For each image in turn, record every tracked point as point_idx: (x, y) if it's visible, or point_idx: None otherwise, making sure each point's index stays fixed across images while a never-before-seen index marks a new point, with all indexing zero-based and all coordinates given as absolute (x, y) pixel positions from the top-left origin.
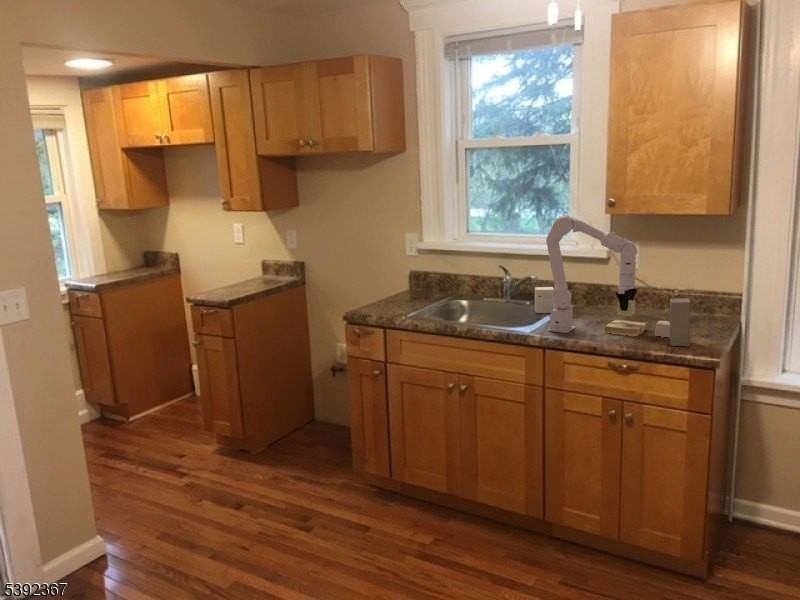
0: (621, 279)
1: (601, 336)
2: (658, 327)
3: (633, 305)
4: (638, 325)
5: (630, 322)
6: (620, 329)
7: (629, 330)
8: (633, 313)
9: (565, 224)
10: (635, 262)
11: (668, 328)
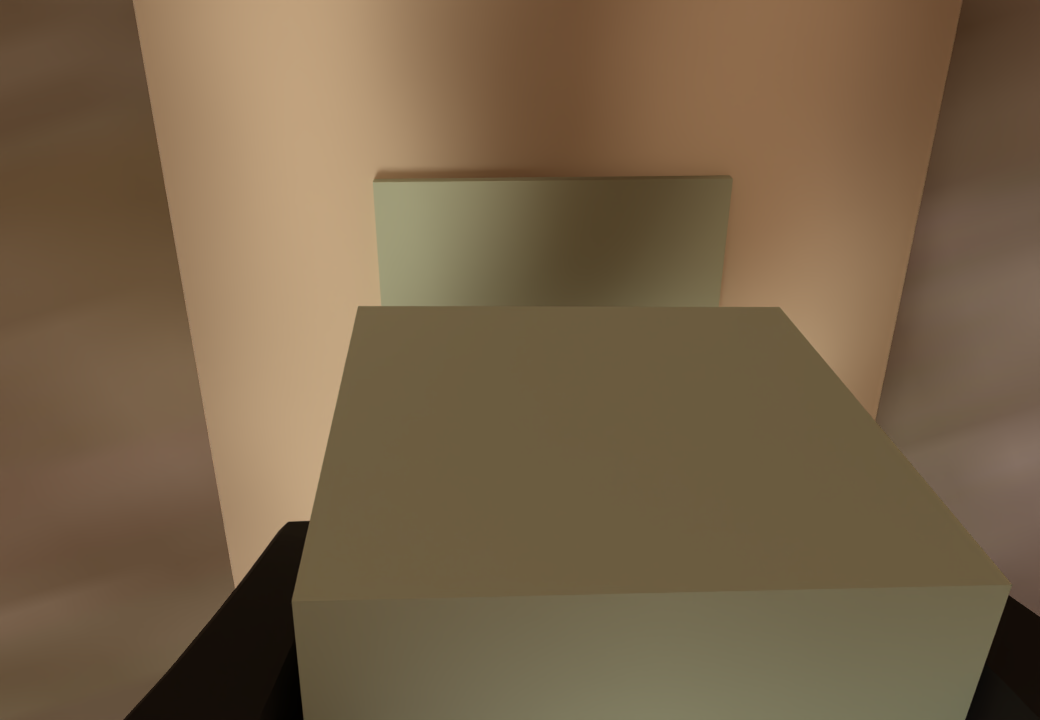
0: None
1: (1030, 494)
2: None
3: (553, 469)
4: (488, 70)
5: (305, 316)
6: (884, 326)
7: (919, 140)
8: (502, 314)
9: None
10: None
11: None
